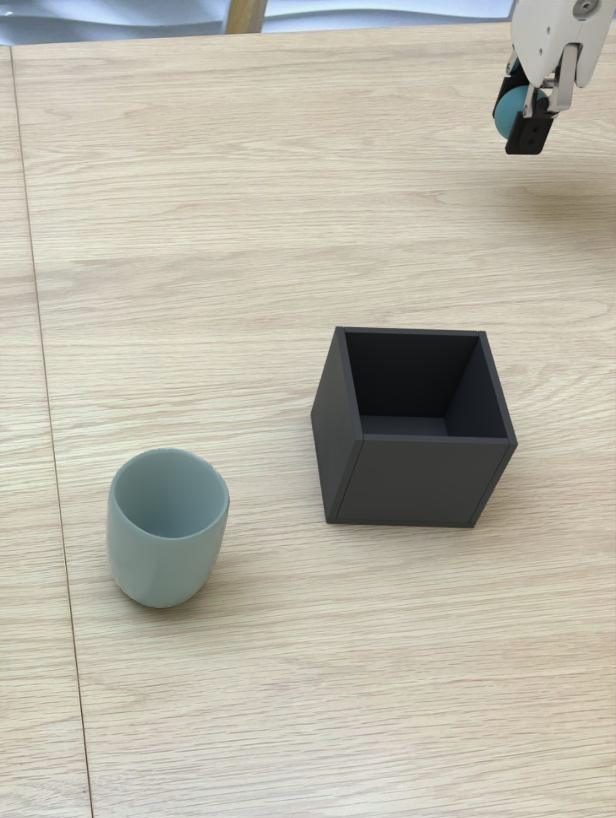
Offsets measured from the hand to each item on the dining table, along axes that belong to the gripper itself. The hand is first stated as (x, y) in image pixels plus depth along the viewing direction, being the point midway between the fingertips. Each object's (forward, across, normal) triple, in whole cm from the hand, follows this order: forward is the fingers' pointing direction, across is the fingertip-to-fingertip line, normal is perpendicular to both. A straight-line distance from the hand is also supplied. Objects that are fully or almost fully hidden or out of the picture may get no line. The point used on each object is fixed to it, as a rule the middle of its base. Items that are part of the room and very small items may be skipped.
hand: (515, 133), depth 100 cm
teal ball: (-2, 0, 0) cm, 2 cm away
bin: (+7, -35, +15) cm, 39 cm away
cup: (+7, -46, +34) cm, 57 cm away
